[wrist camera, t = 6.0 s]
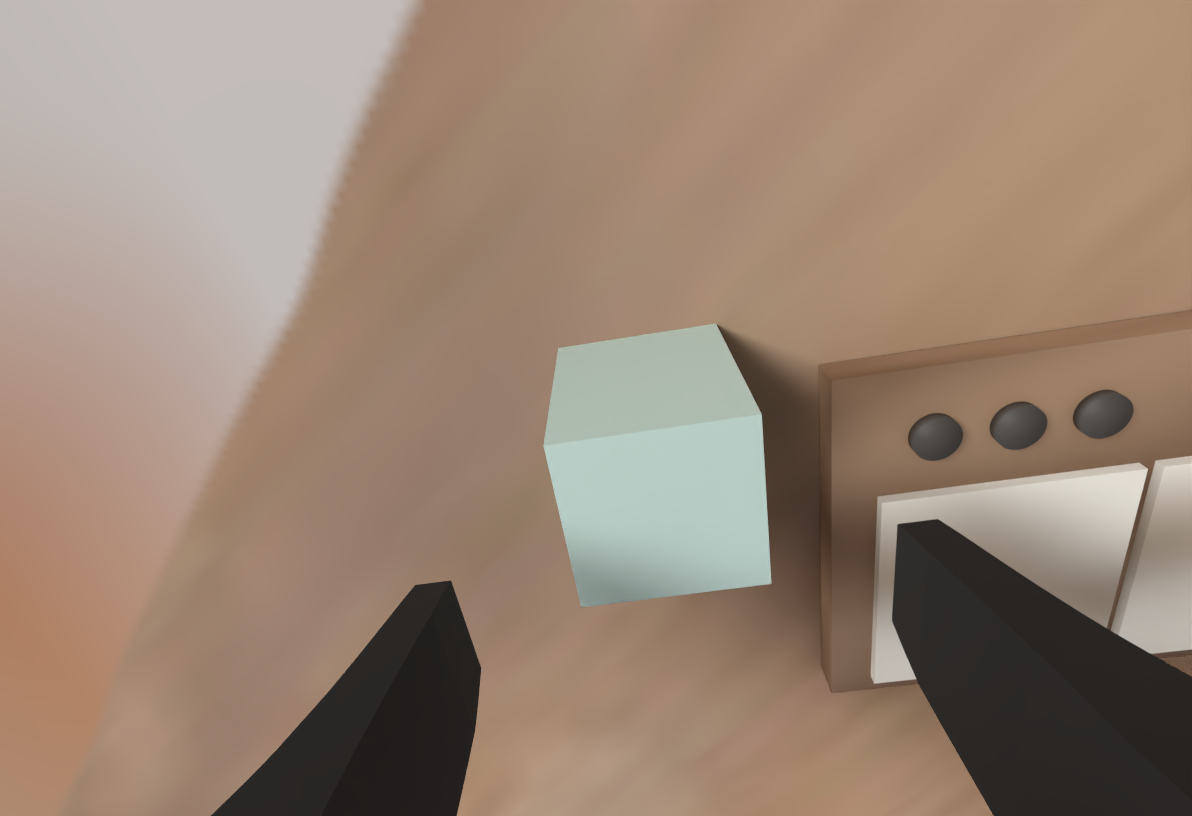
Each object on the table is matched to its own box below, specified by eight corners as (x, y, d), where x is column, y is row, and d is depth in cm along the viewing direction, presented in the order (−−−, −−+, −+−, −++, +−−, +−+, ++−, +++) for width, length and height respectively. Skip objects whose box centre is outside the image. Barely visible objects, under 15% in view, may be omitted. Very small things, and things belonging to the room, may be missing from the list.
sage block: (727, 458, 18) (771, 583, 13) (585, 478, 18) (581, 607, 14) (715, 323, 16) (761, 414, 11) (558, 347, 16) (543, 445, 12)
